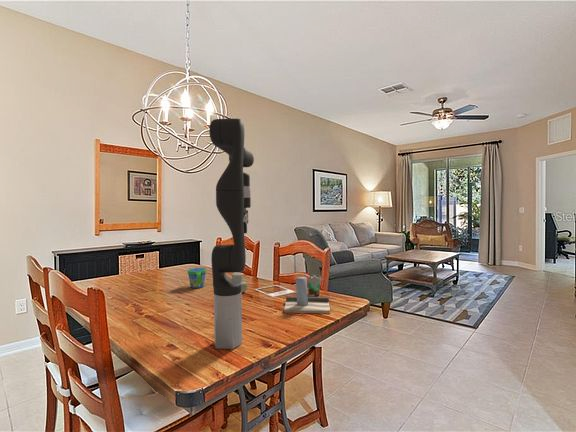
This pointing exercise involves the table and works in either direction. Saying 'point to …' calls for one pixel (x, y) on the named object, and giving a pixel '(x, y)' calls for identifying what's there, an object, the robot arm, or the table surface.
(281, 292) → the photo frame
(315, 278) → the food container
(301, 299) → the roller
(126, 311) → the table surface
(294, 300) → the board
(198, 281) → the snack cup
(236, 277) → the air freshener
